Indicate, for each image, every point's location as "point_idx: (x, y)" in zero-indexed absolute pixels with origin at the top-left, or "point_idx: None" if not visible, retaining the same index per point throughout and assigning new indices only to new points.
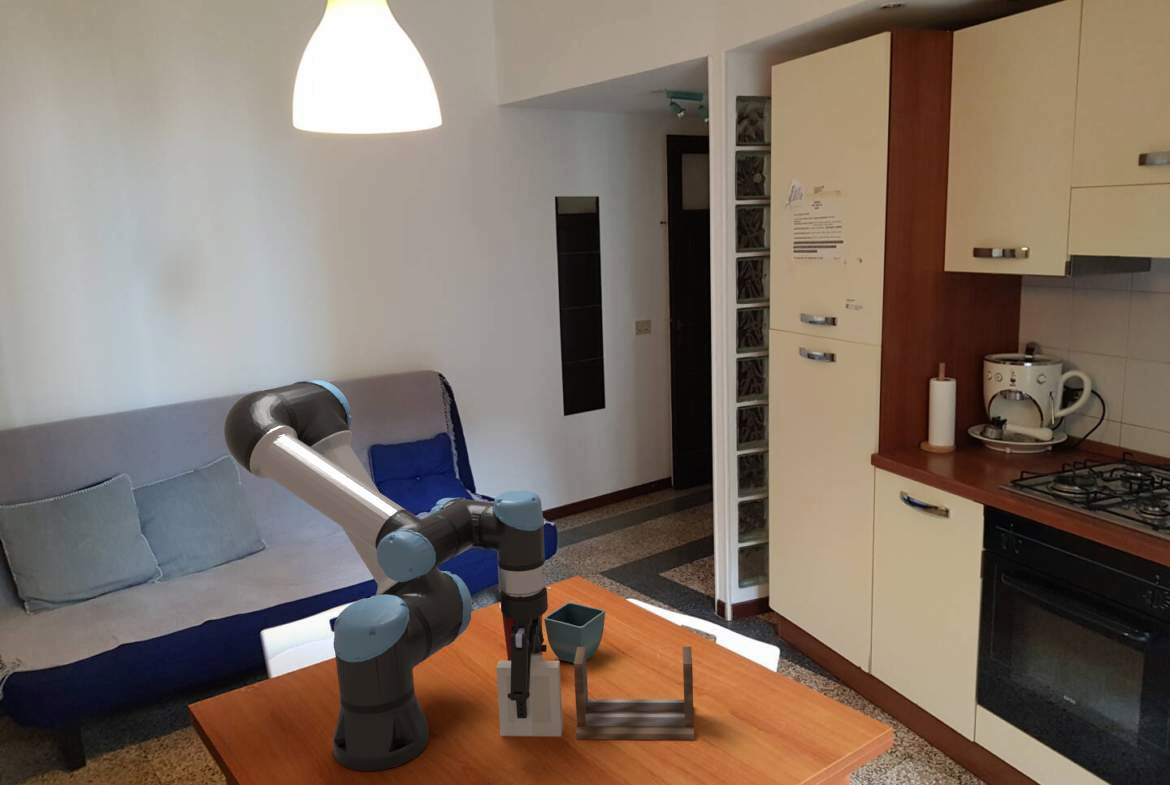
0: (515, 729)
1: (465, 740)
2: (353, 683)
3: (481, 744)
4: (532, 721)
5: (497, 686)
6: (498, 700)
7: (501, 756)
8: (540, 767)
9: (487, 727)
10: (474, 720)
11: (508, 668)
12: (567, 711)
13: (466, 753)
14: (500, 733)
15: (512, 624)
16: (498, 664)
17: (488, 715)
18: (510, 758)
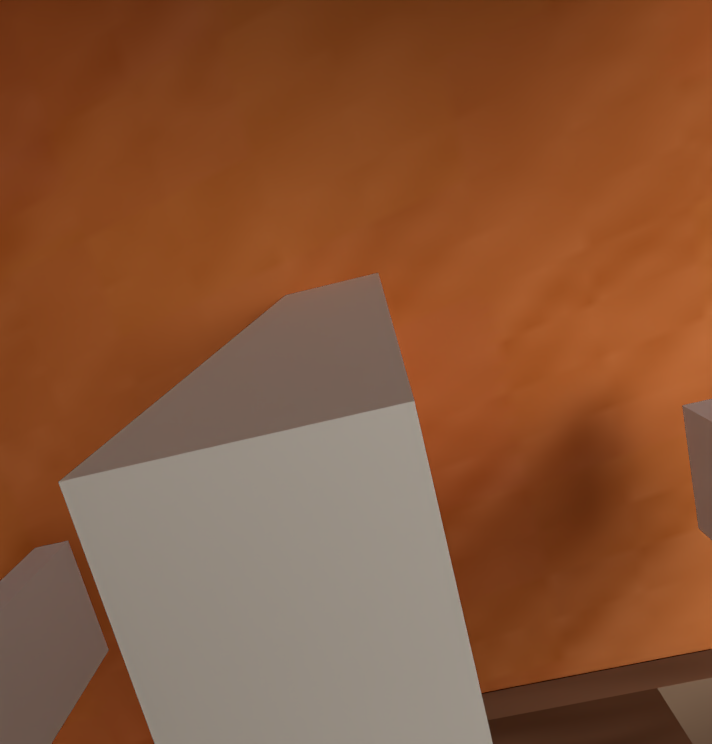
0: (9, 575)
1: (167, 79)
2: None
3: (159, 212)
4: (65, 716)
5: (196, 371)
6: (236, 337)
7: (84, 390)
8: None
9: (357, 162)
10: (420, 21)
11: (153, 722)
12: (645, 588)
13: (35, 159)
14: (283, 297)
15: None
16: (232, 466)
17: (506, 98)
18: (84, 448)
